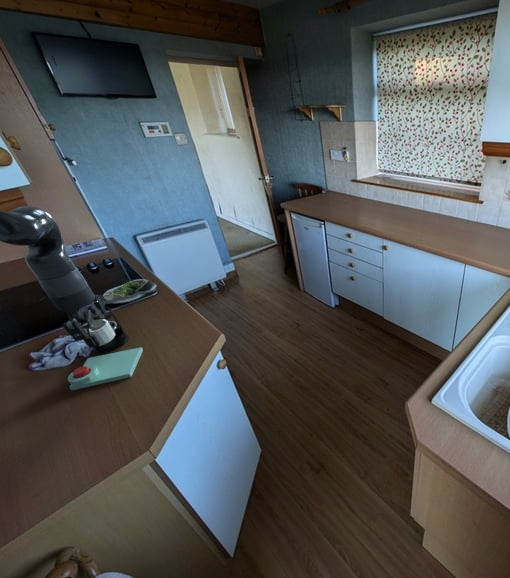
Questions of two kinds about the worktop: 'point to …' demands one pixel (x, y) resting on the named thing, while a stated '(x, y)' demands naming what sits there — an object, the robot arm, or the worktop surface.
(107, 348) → the french press
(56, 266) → the robot arm
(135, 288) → the salad plate
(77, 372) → the tare button
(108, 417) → the worktop surface
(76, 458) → the worktop surface
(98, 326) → the bowl
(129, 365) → the scale
